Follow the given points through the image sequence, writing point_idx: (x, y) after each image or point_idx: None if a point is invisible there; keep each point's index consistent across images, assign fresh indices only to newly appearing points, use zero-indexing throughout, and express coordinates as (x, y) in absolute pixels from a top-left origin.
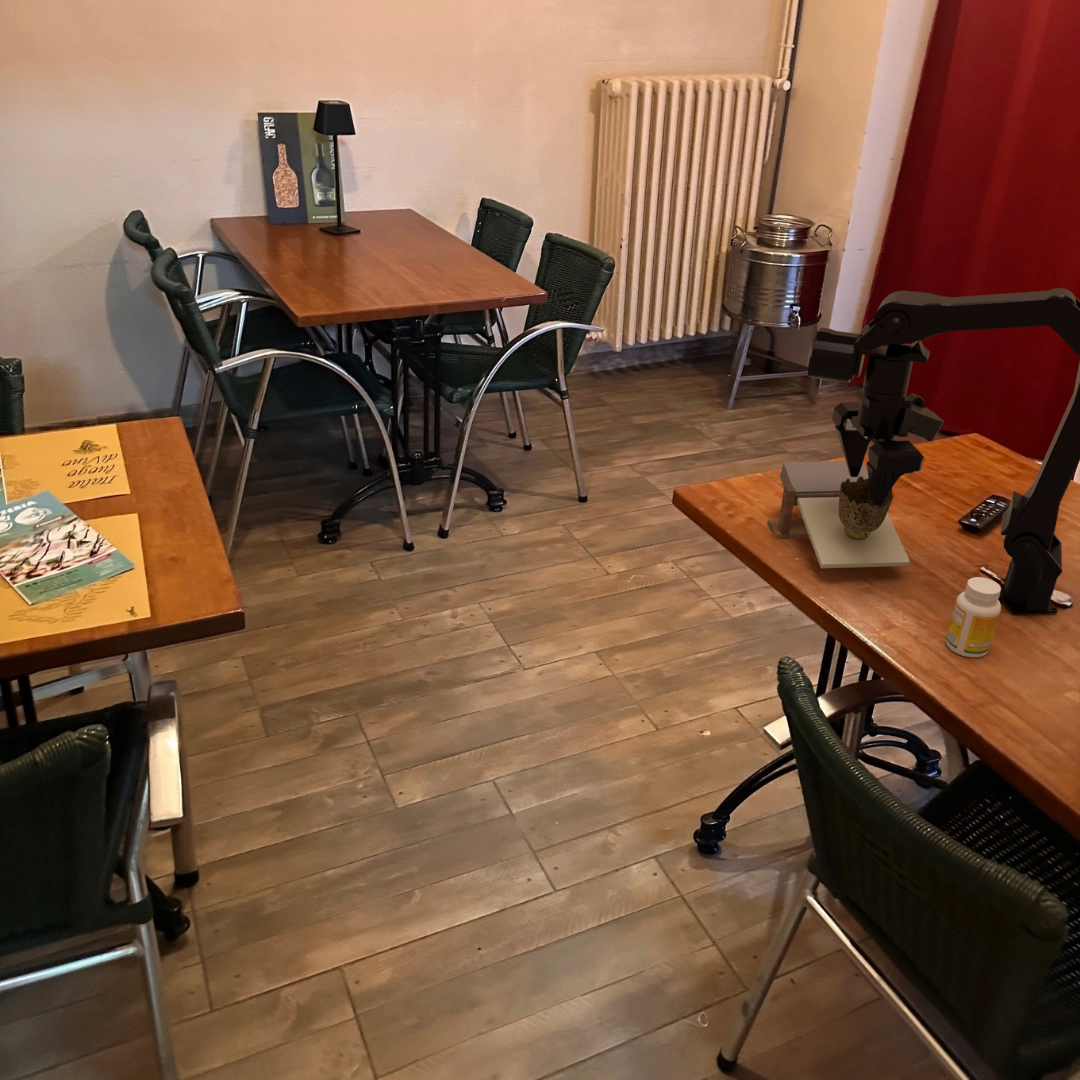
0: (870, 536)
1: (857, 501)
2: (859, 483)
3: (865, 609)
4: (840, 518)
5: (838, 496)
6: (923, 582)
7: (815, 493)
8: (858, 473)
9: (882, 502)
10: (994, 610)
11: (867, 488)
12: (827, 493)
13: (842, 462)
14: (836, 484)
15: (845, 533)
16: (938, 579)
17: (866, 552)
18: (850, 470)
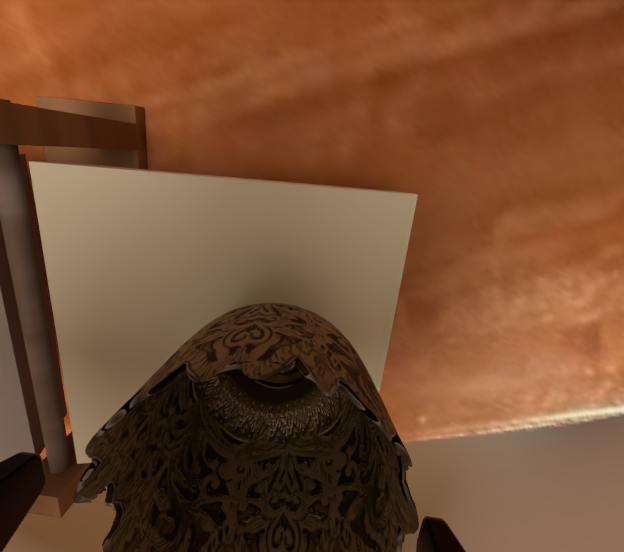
0: (281, 286)
1: (176, 383)
2: (114, 461)
3: (501, 356)
4: (274, 456)
5: (45, 328)
6: (424, 136)
7: (44, 410)
8: (18, 472)
9: (459, 544)
10: None
11: (141, 404)
12: (38, 372)
13: None
14: None
15: (279, 380)
16: (420, 74)
17: (349, 320)
18: (8, 540)
